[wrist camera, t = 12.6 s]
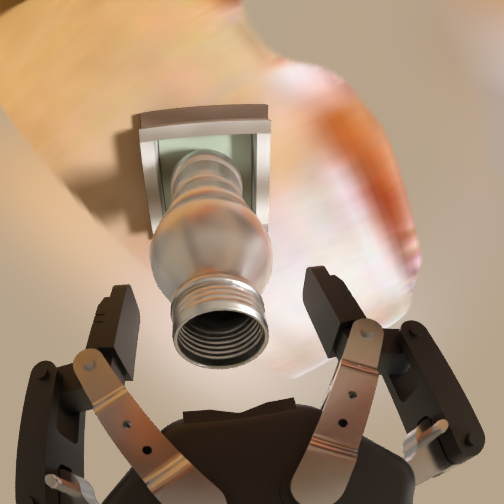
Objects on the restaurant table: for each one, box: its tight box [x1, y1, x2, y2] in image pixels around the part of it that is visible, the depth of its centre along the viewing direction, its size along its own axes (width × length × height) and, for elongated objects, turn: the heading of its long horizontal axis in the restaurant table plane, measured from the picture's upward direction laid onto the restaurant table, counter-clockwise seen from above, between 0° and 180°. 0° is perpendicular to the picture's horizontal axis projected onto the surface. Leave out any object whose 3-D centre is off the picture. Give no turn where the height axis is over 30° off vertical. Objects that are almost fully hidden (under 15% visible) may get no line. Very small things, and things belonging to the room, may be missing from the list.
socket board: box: [139, 104, 271, 235], centre depth 26 cm, size 14×12×4 cm
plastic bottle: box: [150, 149, 273, 369], centre depth 18 cm, size 6×7×20 cm
